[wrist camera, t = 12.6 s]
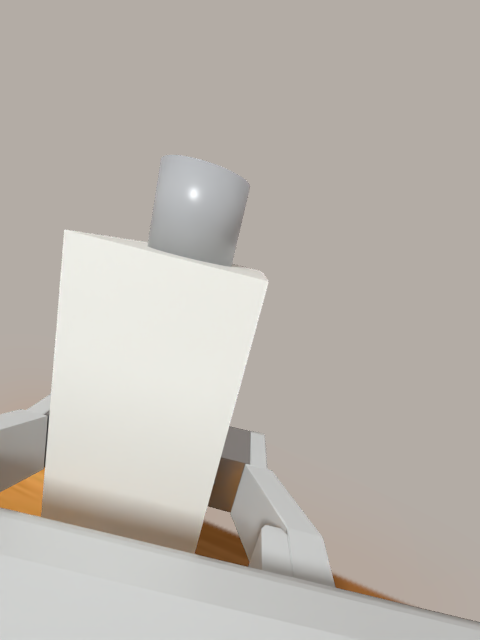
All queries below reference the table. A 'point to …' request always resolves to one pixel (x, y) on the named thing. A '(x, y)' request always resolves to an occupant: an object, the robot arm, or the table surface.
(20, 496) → the table surface
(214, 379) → the capped white pillar
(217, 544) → the table surface
